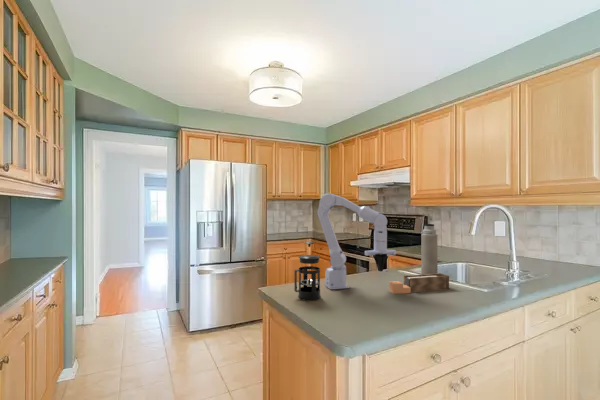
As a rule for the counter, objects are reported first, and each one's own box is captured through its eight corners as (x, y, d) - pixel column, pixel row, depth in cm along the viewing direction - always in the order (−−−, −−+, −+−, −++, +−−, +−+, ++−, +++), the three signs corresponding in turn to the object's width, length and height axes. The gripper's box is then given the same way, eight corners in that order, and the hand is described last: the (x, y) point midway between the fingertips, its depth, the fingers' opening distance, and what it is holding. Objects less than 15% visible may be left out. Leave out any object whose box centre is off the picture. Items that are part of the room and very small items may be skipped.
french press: (316, 292, 134) (316, 240, 134) (326, 298, 125) (325, 242, 126) (291, 295, 130) (291, 241, 130) (299, 302, 121) (299, 244, 121)
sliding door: (409, 290, 136) (408, 279, 136) (405, 288, 139) (405, 277, 139) (440, 288, 140) (439, 277, 140) (435, 286, 143) (435, 275, 143)
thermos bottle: (421, 273, 170) (421, 223, 170) (437, 275, 166) (437, 223, 167) (420, 276, 162) (420, 224, 163) (437, 278, 159) (437, 224, 159)
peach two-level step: (393, 294, 133) (393, 284, 133) (389, 291, 137) (389, 281, 137) (410, 293, 134) (410, 283, 134) (406, 290, 138) (406, 281, 138)
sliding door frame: (411, 292, 135) (411, 278, 135) (403, 288, 140) (403, 275, 140) (449, 289, 139) (449, 276, 139) (440, 285, 145) (440, 273, 145)
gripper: (369, 242, 133) (369, 273, 133) (399, 241, 136) (399, 272, 136) (362, 240, 140) (362, 270, 140) (391, 239, 143) (391, 268, 143)
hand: (380, 270), depth 139 cm, fingers closed
